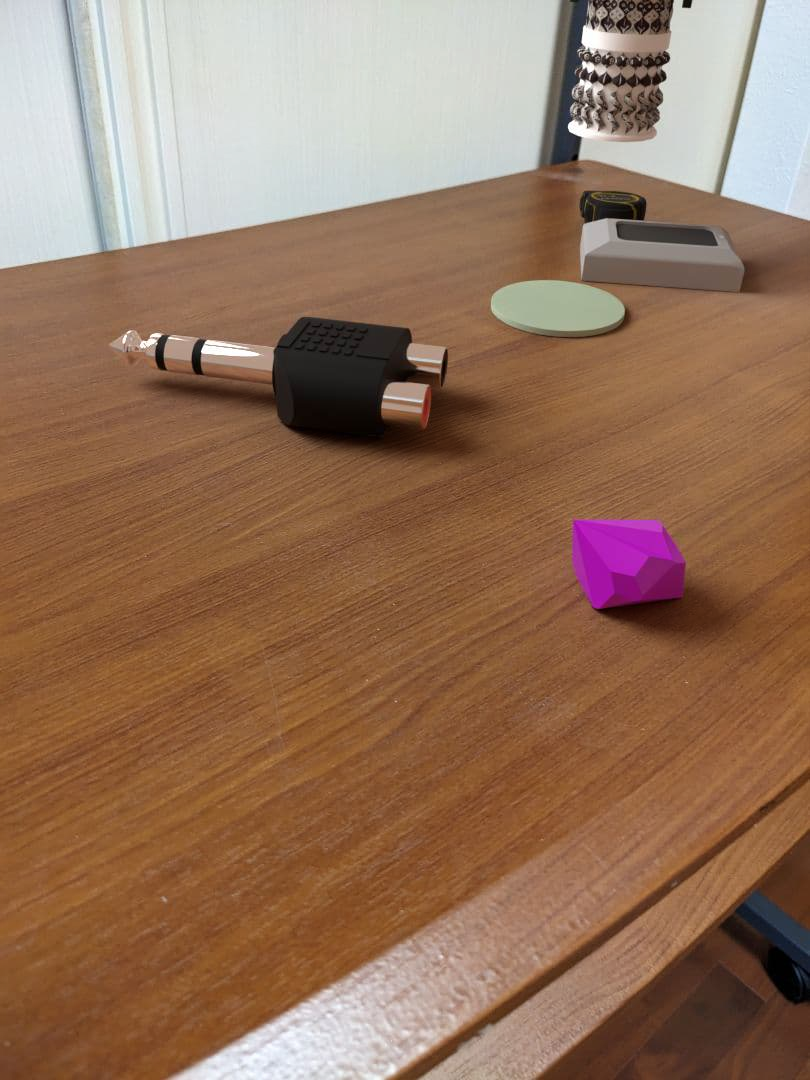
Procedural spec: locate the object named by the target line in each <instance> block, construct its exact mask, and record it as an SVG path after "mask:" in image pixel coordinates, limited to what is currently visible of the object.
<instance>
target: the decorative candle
mask: <svg viewBox="0 0 810 1080" xmlns="http://www.w3.org/2000/svg"><path fill="white" fill-rule="evenodd" d="M674 3H675V0H588V3H587V12H586V19H585V20H586V21H585V24H584V25H583V27H582V37H581V44H582V46H580V47H578V48H577V51H576V56H577V58H579V59H580V60H581V62H582V63H580V64H578V65H577V66H576V67H575V69H574V75H575V76H576V77H578V78H579V82H578V83H577V84H576V85H574V86H573V88H572V90H571V97H572V99H573V101H574V102H573V104H572V105H571V106H570V108H569V115H570V117H571V118H572V121H570V122H569V123H568V125H567V128H568V131H569V133H571V134H574V135H575V136H577V137H581V138H585V139H589V140H593V141H594V140H595V141H602V142H609V143H610V142H611V143H612V142H613V143H636V142H637V143H638V142H645V141H648V140H652V139H654V138H655V137H656V136H657V135H658V131H657V129H656V127H655V126H654V125H656V124H657V123H658V122H659V121H660V119H661V116H660V114H661V112H660V110H659V108H658V107H659V106H661V105H662V104H663V102H664V93H663V92H662V90H661V89H660V84H662V83H664V82H665V81H667V78H668V77H667V76H668V75H667V73H666V72H665V70H664V69H663V66H665V65H667V64H668V63H669V62H670V61H671V55H670V52H668V50H669V48H670V43H671V38H672V30H671V21H672V18H673V15H674Z"/></svg>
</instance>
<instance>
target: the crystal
mask: <svg viewBox="0 0 810 1080" xmlns="http://www.w3.org/2000/svg"><path fill="white" fill-rule="evenodd" d="M571 548H572V549H571V562H572V567H573V571H574V574H575V577H576V579H577V581H578V583H579V584H580V587H581V588H582V590H583V592H584V594H585V596H586V598H587V597H588V598H587V600H588V599H589V600H588V602H589V601H590V602H591V604H592V606H593V607H594V608H593V607H592V606H591V607H592V608H593V609H597V610H600V609H607V608H608V609H609V608H616V607H624V606H630V605H636V604H637V605H638V604H645V602H646V603H653V602H659V600H660V601H666V599H667V600H673V598H674V599H681V598H680V597H682V596H683V595H684V586H685V585H684V584H685V574H686V565H687V562H686V560H685V558H684V557H683V554H682V552H681V551H680V549H679V547H678V545H677V544H676V542H675V541H674V539H673V538H672V537H671V535H670V533H669V532H668V530H667V529H666V528H665V525H664V524H663V523H661V522H660V521H659V520H658V519H586V518H585V519H578V518H577V519H576V518H575V519H572V541H571ZM682 598H683V597H682ZM652 601H653V602H652ZM590 602H589V603H590ZM591 604H590V605H591Z"/></svg>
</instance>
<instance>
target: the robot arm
mask: <svg viewBox="0 0 810 1080" xmlns="http://www.w3.org/2000/svg"><path fill="white" fill-rule="evenodd" d="M579 2H580V0H569V3H579ZM692 5H693V0H682V3H681V8H682V9H691V8H692Z"/></svg>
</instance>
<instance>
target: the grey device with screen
mask: <svg viewBox="0 0 810 1080" xmlns="http://www.w3.org/2000/svg"><path fill="white" fill-rule="evenodd" d="M579 257H580V258H579V259H580V279H581V281H582V282H594V283H595V282H596V283H609V284H622V285H637V286H651V287H665V288H677V289H691V290H705V291H716V292H717V291H718V292H719V291H720V292H732V293H740V291H741V287H742V284H743V279H744V275H745V272H746V271H745V270H746V269H745V266H744V263H743V262H742V259H741V257H740V254H739V253H738V251H737V248H736V246H735V244H734V242H733V240H732V238H731V235H730V234H729V232H728V231H727V230H726V228H724V227H722V226H721V225H715V224H713V225H712V224H699V223H698V224H697V223H684V222H683V223H682V222H681V223H680V222H670V221H669V222H667V221H654V220H651V221H650V220H644V221H639V220H624V219H609V218H606V219H602V220H598V221H594V222H590V223H586V224H585V223H584V224H582V229H581V238H580V244H579Z"/></svg>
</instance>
